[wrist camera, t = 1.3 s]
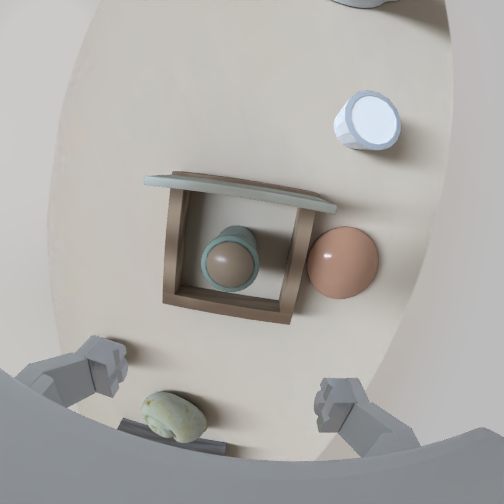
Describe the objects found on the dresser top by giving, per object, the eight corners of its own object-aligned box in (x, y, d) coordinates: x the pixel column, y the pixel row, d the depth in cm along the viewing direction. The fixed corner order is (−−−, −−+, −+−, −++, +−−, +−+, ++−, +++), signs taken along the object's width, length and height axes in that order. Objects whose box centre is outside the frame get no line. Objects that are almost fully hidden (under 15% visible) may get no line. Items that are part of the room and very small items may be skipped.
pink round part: (315, 220, 34) (317, 221, 33) (382, 233, 34) (385, 235, 33) (299, 291, 37) (300, 294, 36) (364, 299, 37) (366, 302, 36)
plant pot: (216, 219, 35) (204, 232, 27) (263, 226, 35) (263, 241, 27) (211, 262, 36) (198, 286, 29) (255, 270, 36) (254, 296, 29)
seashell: (139, 438, 39) (133, 414, 35) (146, 407, 46) (143, 380, 42) (204, 450, 41) (209, 430, 37) (207, 418, 48) (212, 393, 44)
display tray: (123, 417, 48) (115, 432, 43) (226, 442, 48) (224, 460, 43) (137, 461, 54) (132, 474, 50) (218, 481, 55) (217, 494, 50)
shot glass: (385, 141, 31) (411, 136, 24) (345, 162, 32) (365, 160, 25) (360, 96, 29) (381, 82, 23) (319, 116, 31) (332, 103, 24)
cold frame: (181, 171, 33) (145, 171, 22) (313, 191, 33) (338, 200, 22) (170, 292, 38) (140, 335, 27) (287, 312, 38) (296, 362, 27)
